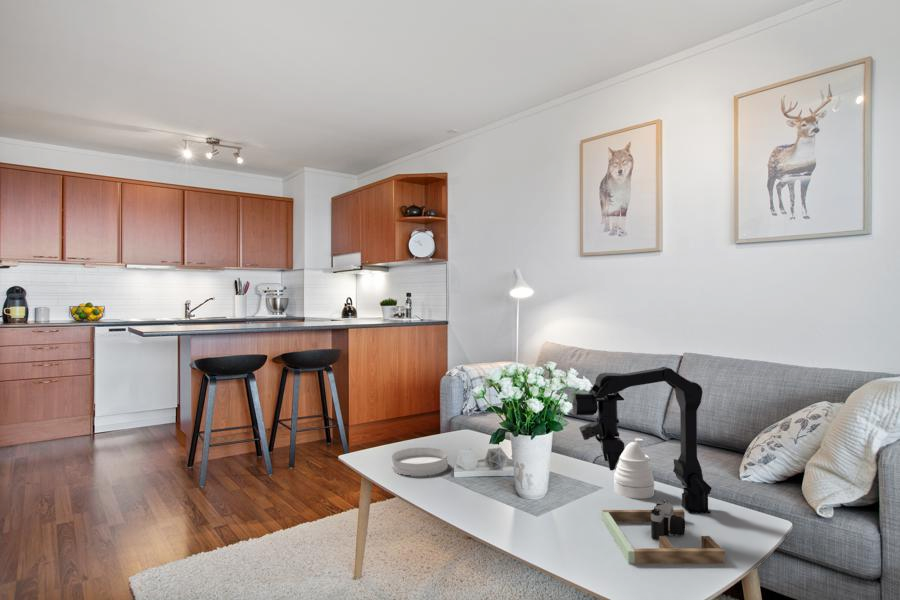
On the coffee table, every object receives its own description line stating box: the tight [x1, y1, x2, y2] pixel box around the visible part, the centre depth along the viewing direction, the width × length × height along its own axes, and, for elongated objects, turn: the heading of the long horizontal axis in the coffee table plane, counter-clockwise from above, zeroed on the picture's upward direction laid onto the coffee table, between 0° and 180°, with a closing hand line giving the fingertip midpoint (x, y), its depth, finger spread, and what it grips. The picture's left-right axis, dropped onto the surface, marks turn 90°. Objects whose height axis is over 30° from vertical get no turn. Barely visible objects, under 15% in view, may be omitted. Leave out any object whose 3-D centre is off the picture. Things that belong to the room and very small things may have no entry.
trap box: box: [602, 509, 726, 564], centre depth 147 cm, size 24×26×3 cm
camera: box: [650, 499, 686, 543], centre depth 150 cm, size 13×8×9 cm, turn 148°
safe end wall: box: [601, 509, 636, 564], centre depth 147 cm, size 2×26×3 cm, turn 178°
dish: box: [391, 447, 449, 477], centre depth 213 cm, size 22×22×5 cm
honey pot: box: [613, 437, 655, 500], centre depth 183 cm, size 13×13×18 cm
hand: (609, 465), depth 166 cm, fingers open, 9 cm apart
